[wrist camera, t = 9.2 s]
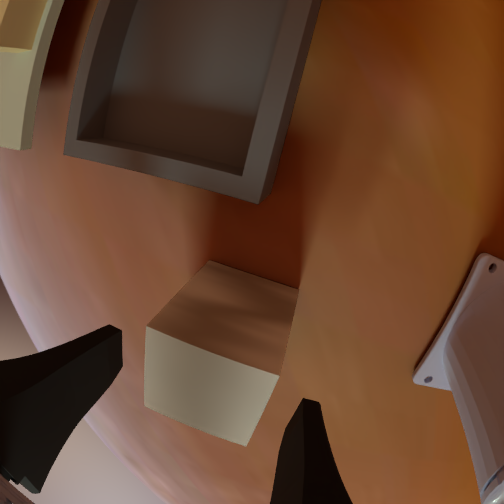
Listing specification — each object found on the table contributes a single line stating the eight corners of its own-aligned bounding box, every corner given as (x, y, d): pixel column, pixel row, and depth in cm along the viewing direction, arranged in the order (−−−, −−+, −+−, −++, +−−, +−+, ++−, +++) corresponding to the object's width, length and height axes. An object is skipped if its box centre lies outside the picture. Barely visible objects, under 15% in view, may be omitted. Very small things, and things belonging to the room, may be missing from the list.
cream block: (299, 289, 14) (279, 375, 9) (272, 359, 16) (245, 446, 11) (209, 260, 15) (146, 325, 9) (195, 331, 17) (144, 405, 11)
